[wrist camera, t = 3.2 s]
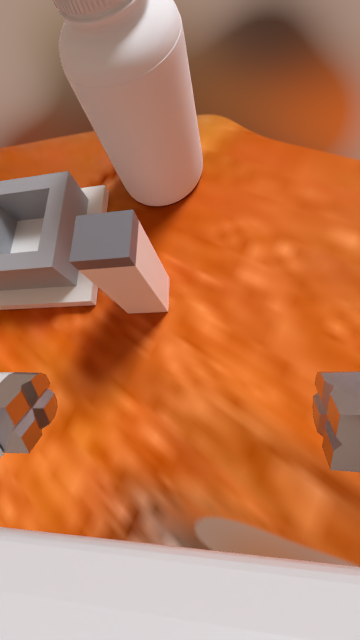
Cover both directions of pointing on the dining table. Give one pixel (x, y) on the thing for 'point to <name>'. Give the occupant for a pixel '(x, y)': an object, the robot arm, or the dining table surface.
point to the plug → (120, 261)
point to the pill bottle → (135, 91)
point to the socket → (44, 241)
